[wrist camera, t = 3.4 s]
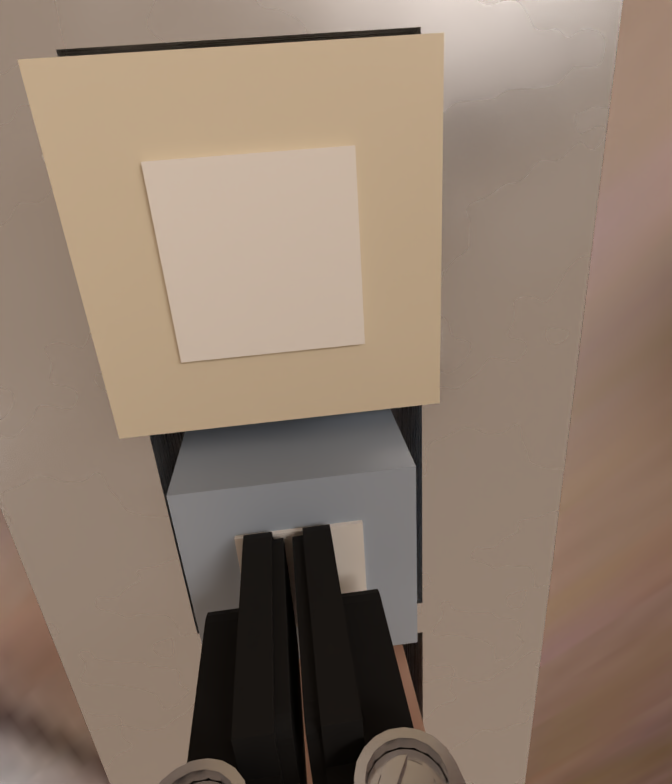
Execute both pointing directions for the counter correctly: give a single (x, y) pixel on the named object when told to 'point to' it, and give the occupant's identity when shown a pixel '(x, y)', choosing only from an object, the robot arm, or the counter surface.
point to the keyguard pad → (416, 423)
